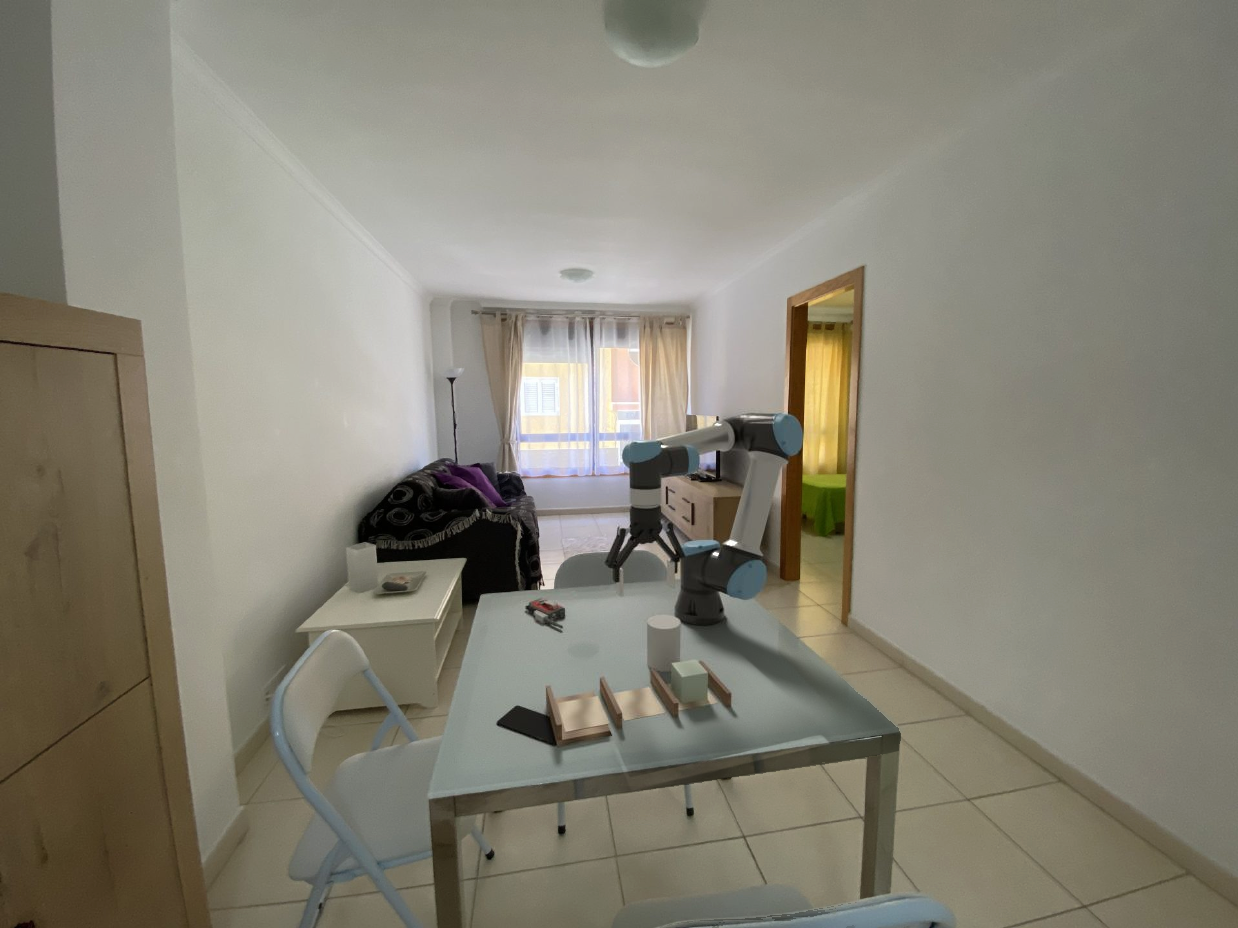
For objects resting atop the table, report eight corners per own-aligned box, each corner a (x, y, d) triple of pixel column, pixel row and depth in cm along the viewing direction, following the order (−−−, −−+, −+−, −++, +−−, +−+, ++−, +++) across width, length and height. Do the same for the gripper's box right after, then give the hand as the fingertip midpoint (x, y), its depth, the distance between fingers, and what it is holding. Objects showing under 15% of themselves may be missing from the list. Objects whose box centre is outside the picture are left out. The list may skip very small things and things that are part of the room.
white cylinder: (683, 662, 128) (683, 617, 126) (676, 679, 120) (676, 630, 119) (651, 657, 130) (652, 612, 129) (643, 673, 123) (643, 626, 121)
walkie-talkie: (519, 613, 159) (559, 633, 145) (519, 599, 159) (559, 618, 145) (542, 605, 165) (582, 623, 151) (541, 592, 165) (582, 609, 151)
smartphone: (555, 744, 97) (494, 722, 104) (555, 748, 97) (495, 725, 104) (575, 724, 103) (516, 704, 110) (575, 728, 103) (516, 707, 110)
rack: (701, 677, 120) (702, 660, 120) (731, 712, 107) (731, 692, 107) (546, 704, 110) (545, 685, 110) (557, 746, 97) (556, 725, 96)
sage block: (695, 684, 116) (696, 659, 115) (707, 698, 110) (707, 672, 109) (671, 688, 114) (671, 663, 113) (681, 703, 108) (682, 676, 107)
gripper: (684, 497, 129) (683, 578, 132) (590, 506, 120) (592, 592, 123) (699, 503, 122) (698, 588, 125) (601, 512, 113) (602, 603, 116)
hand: (645, 590), depth 124 cm, fingers open, 13 cm apart
